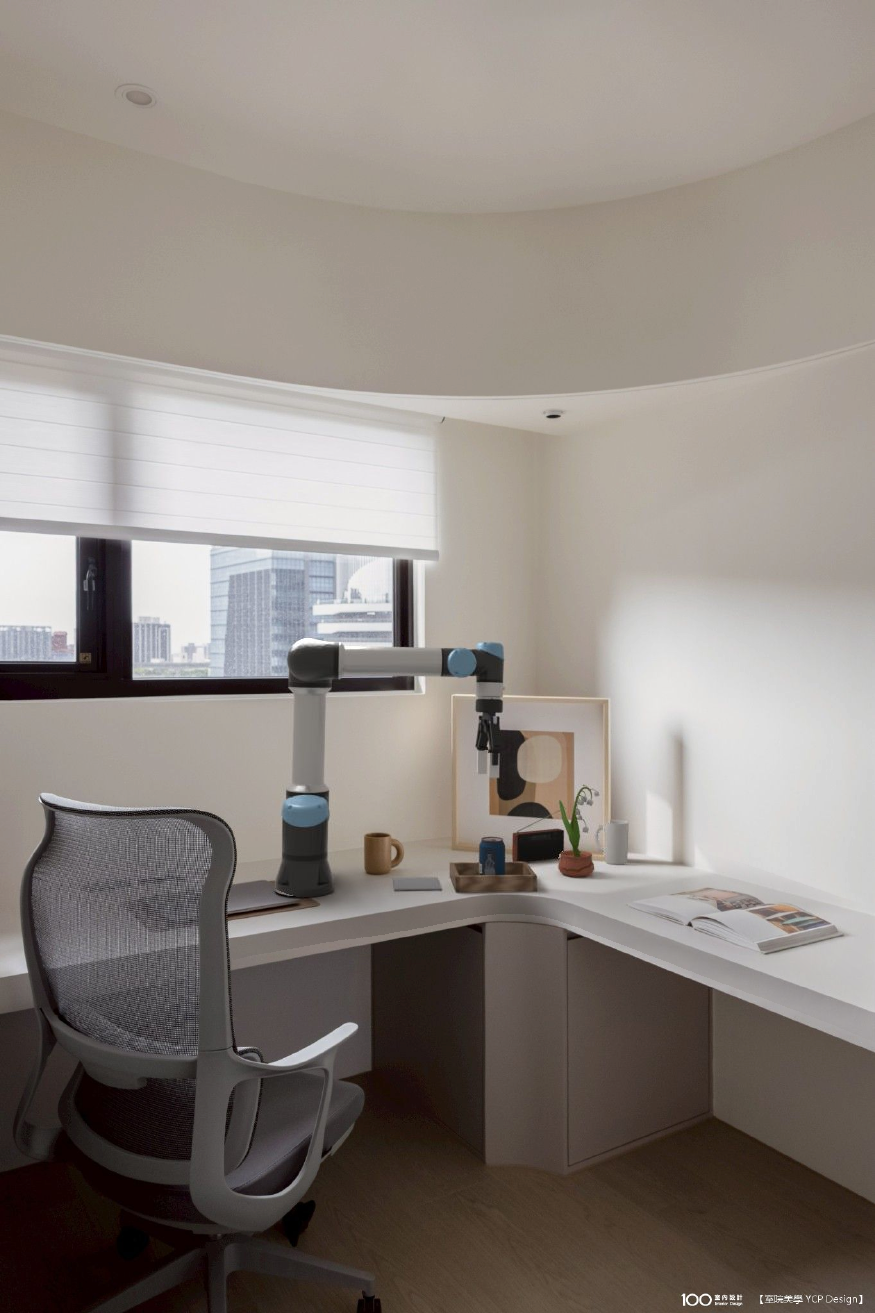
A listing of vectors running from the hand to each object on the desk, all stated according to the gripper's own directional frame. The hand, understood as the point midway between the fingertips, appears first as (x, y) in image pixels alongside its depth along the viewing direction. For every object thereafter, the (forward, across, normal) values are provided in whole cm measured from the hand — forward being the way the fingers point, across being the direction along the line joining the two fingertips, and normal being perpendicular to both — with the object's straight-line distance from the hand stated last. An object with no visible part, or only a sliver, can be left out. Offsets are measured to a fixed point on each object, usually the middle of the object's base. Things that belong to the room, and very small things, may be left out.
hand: (487, 775), depth 249 cm
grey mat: (+28, -5, +20) cm, 35 cm away
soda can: (+28, -7, 0) cm, 29 cm away
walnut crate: (+28, -7, 0) cm, 29 cm away
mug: (+26, +13, -41) cm, 50 cm away
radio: (+26, +19, -22) cm, 39 cm away
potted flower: (+27, 0, -27) cm, 38 cm away
